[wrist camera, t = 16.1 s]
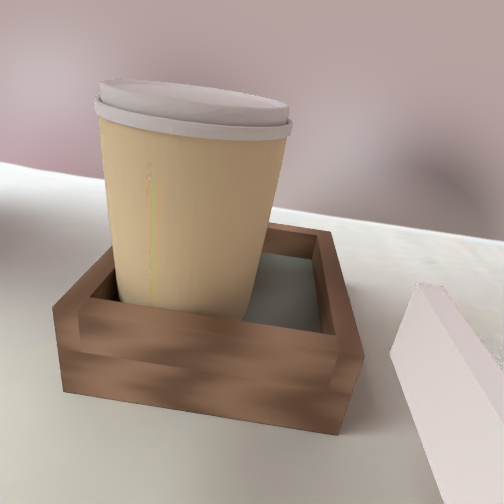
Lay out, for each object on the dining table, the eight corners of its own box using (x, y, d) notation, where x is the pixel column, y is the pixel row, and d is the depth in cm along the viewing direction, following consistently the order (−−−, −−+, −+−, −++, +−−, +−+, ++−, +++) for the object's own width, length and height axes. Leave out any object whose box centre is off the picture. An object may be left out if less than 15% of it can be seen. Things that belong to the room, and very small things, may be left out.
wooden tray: (63, 391, 20) (52, 307, 18) (151, 263, 33) (152, 204, 31) (337, 435, 20) (364, 356, 17) (316, 288, 33) (330, 231, 31)
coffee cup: (198, 252, 29) (210, 85, 24) (290, 311, 24) (334, 111, 18) (76, 289, 23) (56, 72, 18) (164, 382, 17) (174, 107, 12)
